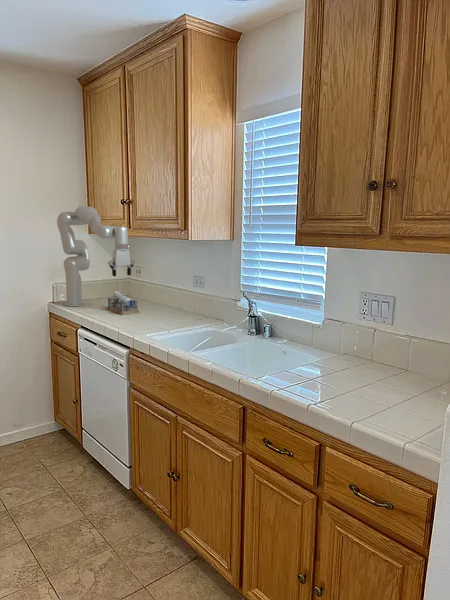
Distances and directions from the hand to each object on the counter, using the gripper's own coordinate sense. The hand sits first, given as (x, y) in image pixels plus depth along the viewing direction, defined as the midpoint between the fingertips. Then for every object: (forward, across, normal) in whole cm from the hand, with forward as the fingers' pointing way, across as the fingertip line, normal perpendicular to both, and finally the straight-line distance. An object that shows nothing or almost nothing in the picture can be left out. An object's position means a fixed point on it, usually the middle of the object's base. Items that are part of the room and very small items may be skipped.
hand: (121, 275), depth 276 cm
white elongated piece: (+17, 0, 0) cm, 17 cm away
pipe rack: (+22, 0, 0) cm, 22 cm away
